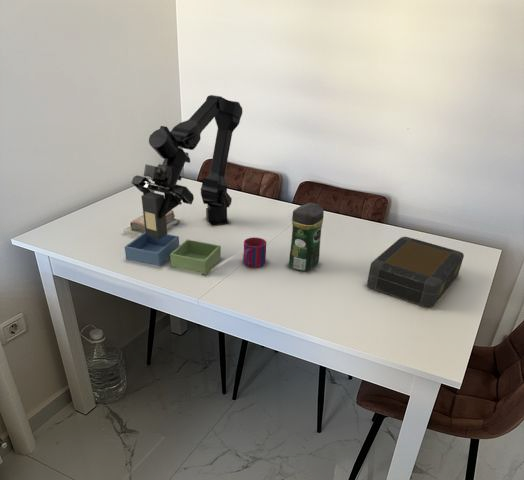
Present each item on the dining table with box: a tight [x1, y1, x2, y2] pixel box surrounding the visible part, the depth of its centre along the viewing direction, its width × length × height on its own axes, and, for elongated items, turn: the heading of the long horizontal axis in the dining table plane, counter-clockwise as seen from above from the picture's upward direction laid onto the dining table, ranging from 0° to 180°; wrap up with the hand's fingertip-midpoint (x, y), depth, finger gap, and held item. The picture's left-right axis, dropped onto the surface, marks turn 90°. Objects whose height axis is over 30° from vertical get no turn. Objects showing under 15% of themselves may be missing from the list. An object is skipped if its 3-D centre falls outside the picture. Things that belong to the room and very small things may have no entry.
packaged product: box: [123, 209, 181, 238], centre depth 167 cm, size 18×5×10 cm
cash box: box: [366, 236, 465, 308], centre depth 143 cm, size 25×20×8 cm
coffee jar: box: [288, 202, 325, 272], centre depth 146 cm, size 10×8×19 cm
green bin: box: [169, 239, 222, 276], centre depth 148 cm, size 11×11×5 cm
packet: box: [141, 192, 168, 239], centre depth 144 cm, size 4×5×12 cm
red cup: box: [242, 236, 267, 269], centre depth 148 cm, size 7×10×7 cm
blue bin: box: [124, 232, 180, 267], centre depth 152 cm, size 13×11×5 cm
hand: (151, 216), depth 143 cm, fingers closed on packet, 5 cm apart
